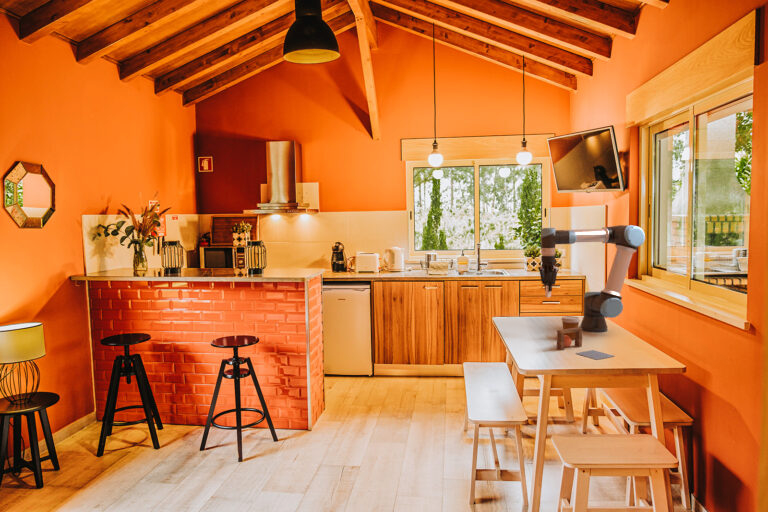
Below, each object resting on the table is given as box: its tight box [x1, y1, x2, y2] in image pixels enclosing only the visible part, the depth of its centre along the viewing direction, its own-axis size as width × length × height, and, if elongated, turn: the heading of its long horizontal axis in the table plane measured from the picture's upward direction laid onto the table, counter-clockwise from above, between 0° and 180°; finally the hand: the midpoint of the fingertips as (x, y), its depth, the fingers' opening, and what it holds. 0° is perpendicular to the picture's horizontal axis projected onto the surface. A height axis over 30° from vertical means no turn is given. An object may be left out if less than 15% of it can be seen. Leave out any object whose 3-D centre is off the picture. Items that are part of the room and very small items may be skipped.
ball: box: [564, 335, 573, 348], centre depth 271 cm, size 6×6×6 cm
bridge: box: [556, 326, 583, 351], centre depth 268 cm, size 3×15×10 cm, turn 118°
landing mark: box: [575, 349, 615, 361], centre depth 255 cm, size 13×13×1 cm
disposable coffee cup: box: [561, 315, 581, 341], centre depth 288 cm, size 10×10×12 cm
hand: (548, 296), depth 292 cm, fingers closed
